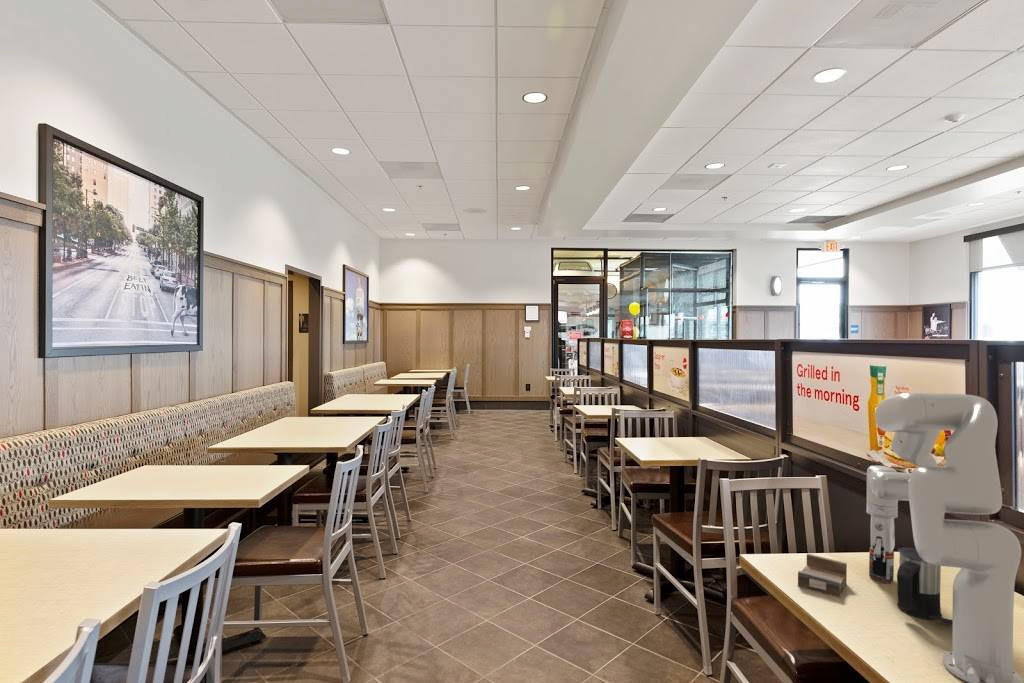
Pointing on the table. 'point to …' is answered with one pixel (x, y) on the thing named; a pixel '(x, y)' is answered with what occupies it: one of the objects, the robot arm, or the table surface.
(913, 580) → the milk frother
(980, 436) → the robot arm
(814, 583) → the shelf
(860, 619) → the table surface
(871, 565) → the supplement bottle
